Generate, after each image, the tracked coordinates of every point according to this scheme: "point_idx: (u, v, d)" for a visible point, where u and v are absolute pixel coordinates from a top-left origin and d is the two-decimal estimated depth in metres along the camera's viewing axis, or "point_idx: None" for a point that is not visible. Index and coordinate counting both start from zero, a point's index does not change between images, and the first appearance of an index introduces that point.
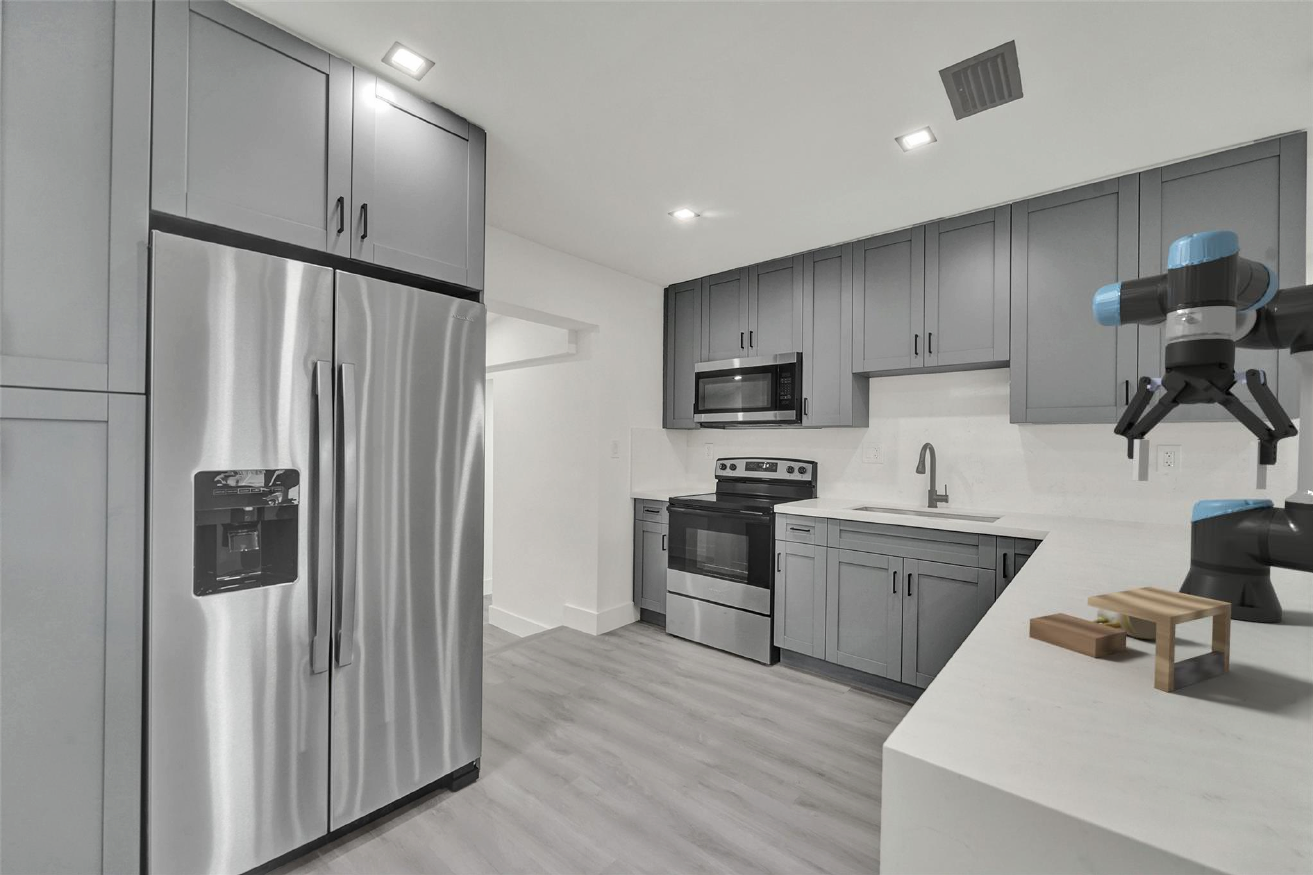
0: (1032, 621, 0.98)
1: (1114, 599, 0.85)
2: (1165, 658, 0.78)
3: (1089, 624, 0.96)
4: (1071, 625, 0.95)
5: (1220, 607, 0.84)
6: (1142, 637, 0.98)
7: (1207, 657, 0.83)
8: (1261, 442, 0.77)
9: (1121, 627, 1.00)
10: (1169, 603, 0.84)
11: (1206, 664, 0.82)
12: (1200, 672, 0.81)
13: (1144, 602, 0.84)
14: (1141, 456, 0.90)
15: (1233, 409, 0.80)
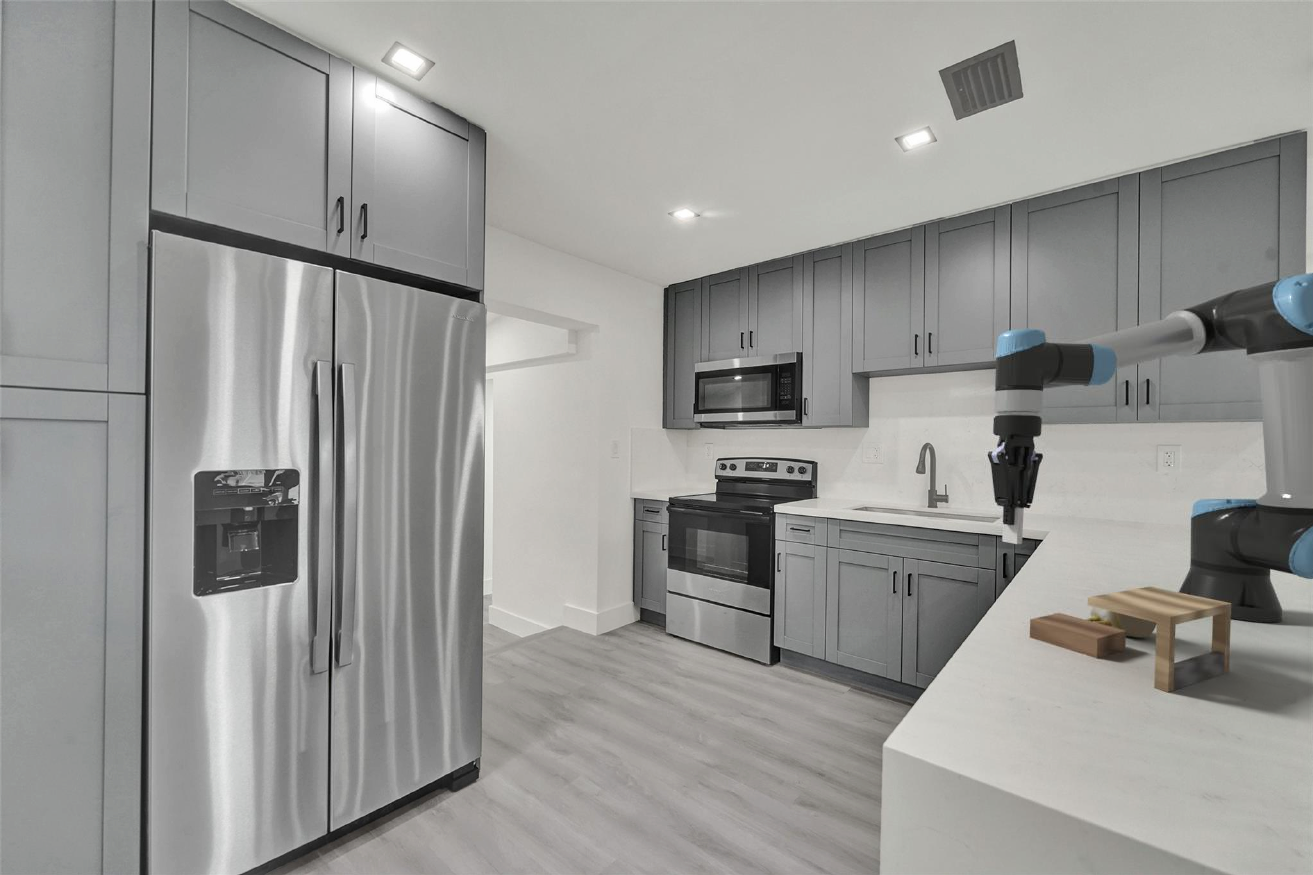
0: (1032, 621, 0.98)
1: (1114, 599, 0.85)
2: (1165, 658, 0.78)
3: (1089, 624, 0.96)
4: (1071, 625, 0.95)
5: (1220, 607, 0.84)
6: (1132, 635, 0.99)
7: (1207, 657, 0.83)
8: None
9: (1112, 625, 1.01)
10: (1169, 603, 0.84)
11: (1206, 664, 0.82)
12: (1200, 672, 0.81)
13: (1144, 602, 0.84)
14: None
15: None
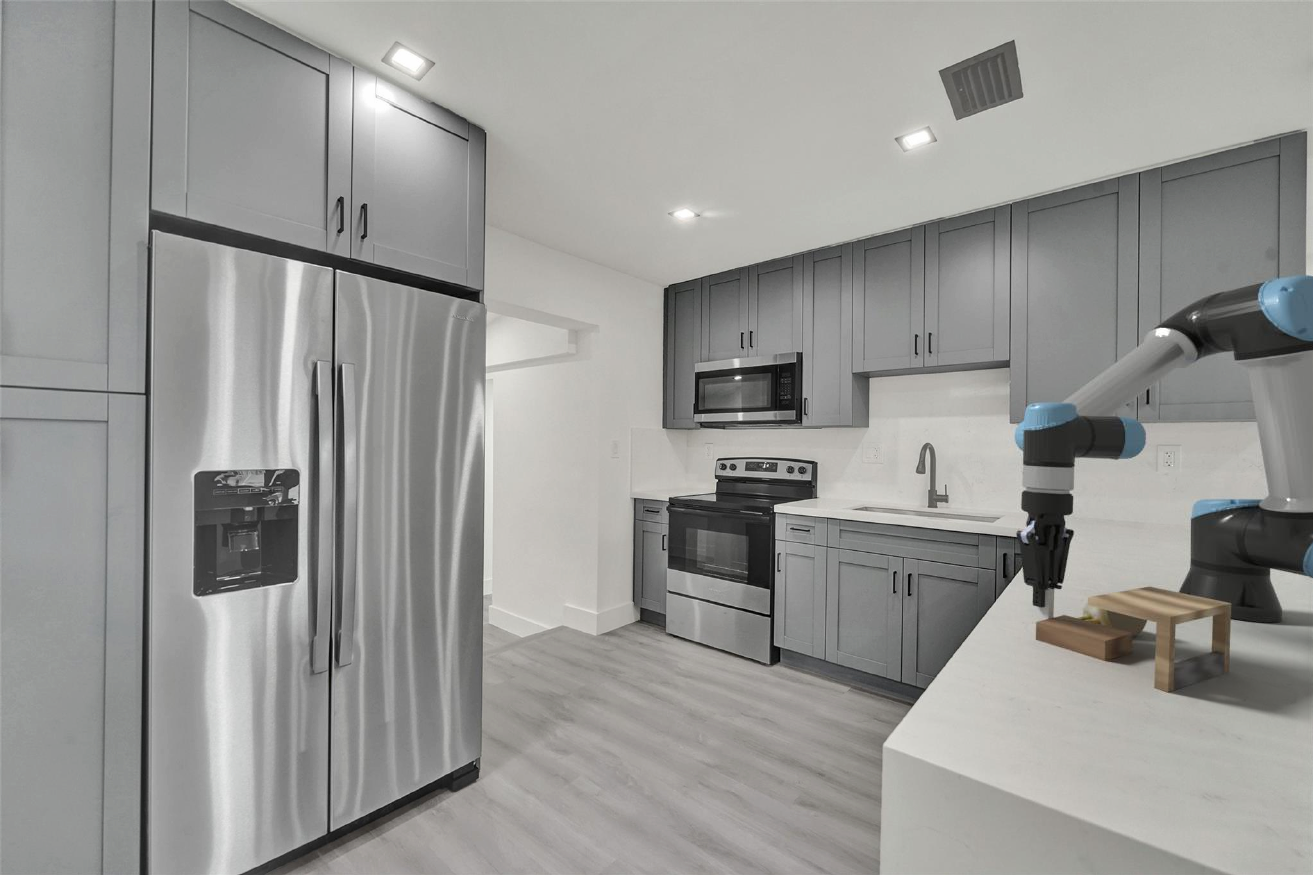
0: (1038, 624, 0.96)
1: (1114, 599, 0.85)
2: (1165, 658, 0.78)
3: (1095, 626, 0.95)
4: (1078, 627, 0.94)
5: (1220, 607, 0.84)
6: None
7: (1207, 657, 0.83)
8: None
9: (1101, 623, 1.02)
10: (1169, 603, 0.84)
11: (1206, 664, 0.82)
12: (1200, 672, 0.81)
13: (1144, 602, 0.84)
14: None
15: None
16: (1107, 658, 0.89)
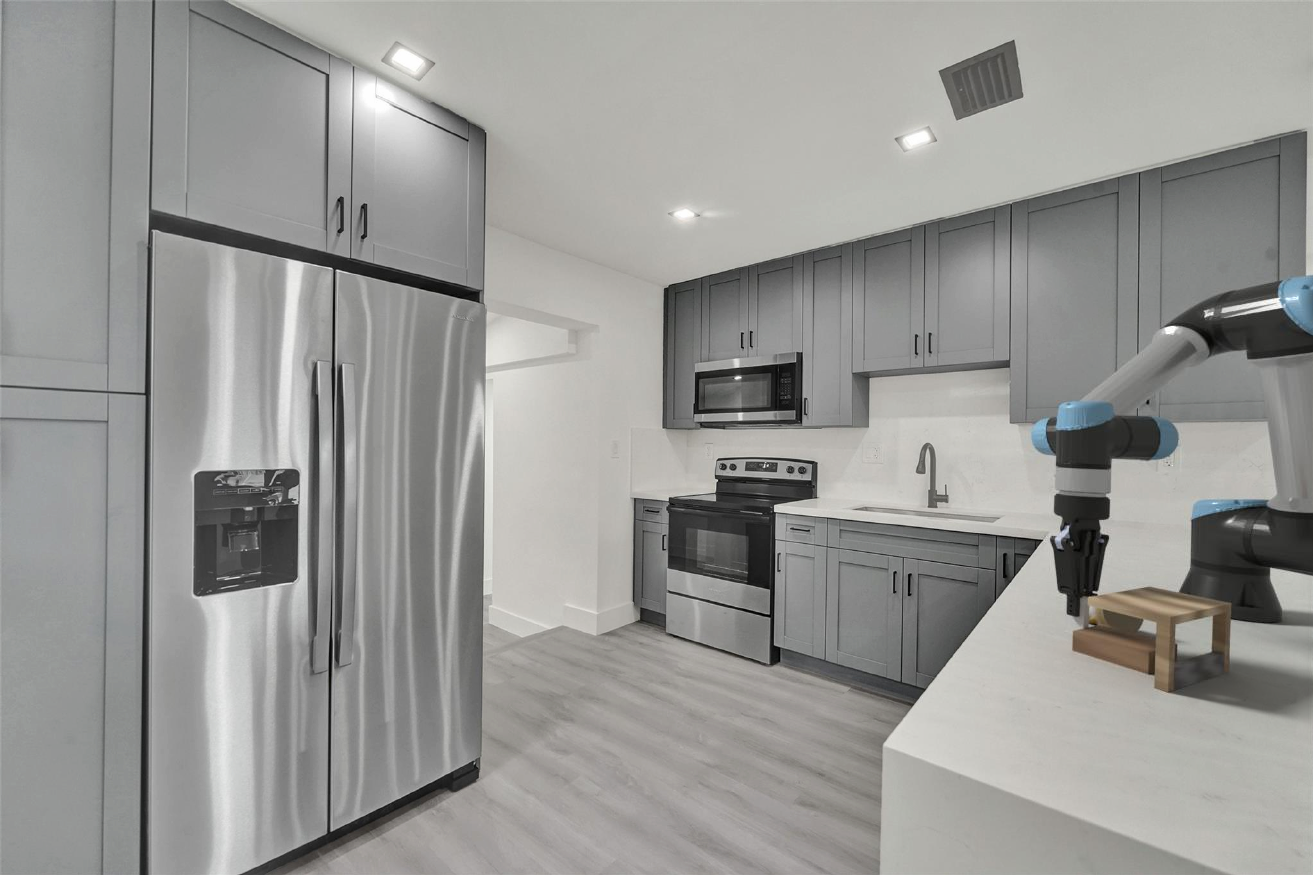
0: (1075, 633, 0.92)
1: (1114, 599, 0.85)
2: (1165, 658, 0.78)
3: (1136, 636, 0.90)
4: (1118, 638, 0.89)
5: (1220, 607, 0.84)
6: None
7: (1207, 657, 0.83)
8: None
9: (1097, 623, 1.02)
10: (1169, 603, 0.84)
11: (1206, 664, 0.82)
12: (1200, 672, 0.81)
13: (1144, 602, 0.84)
14: None
15: None
16: (1151, 671, 0.84)
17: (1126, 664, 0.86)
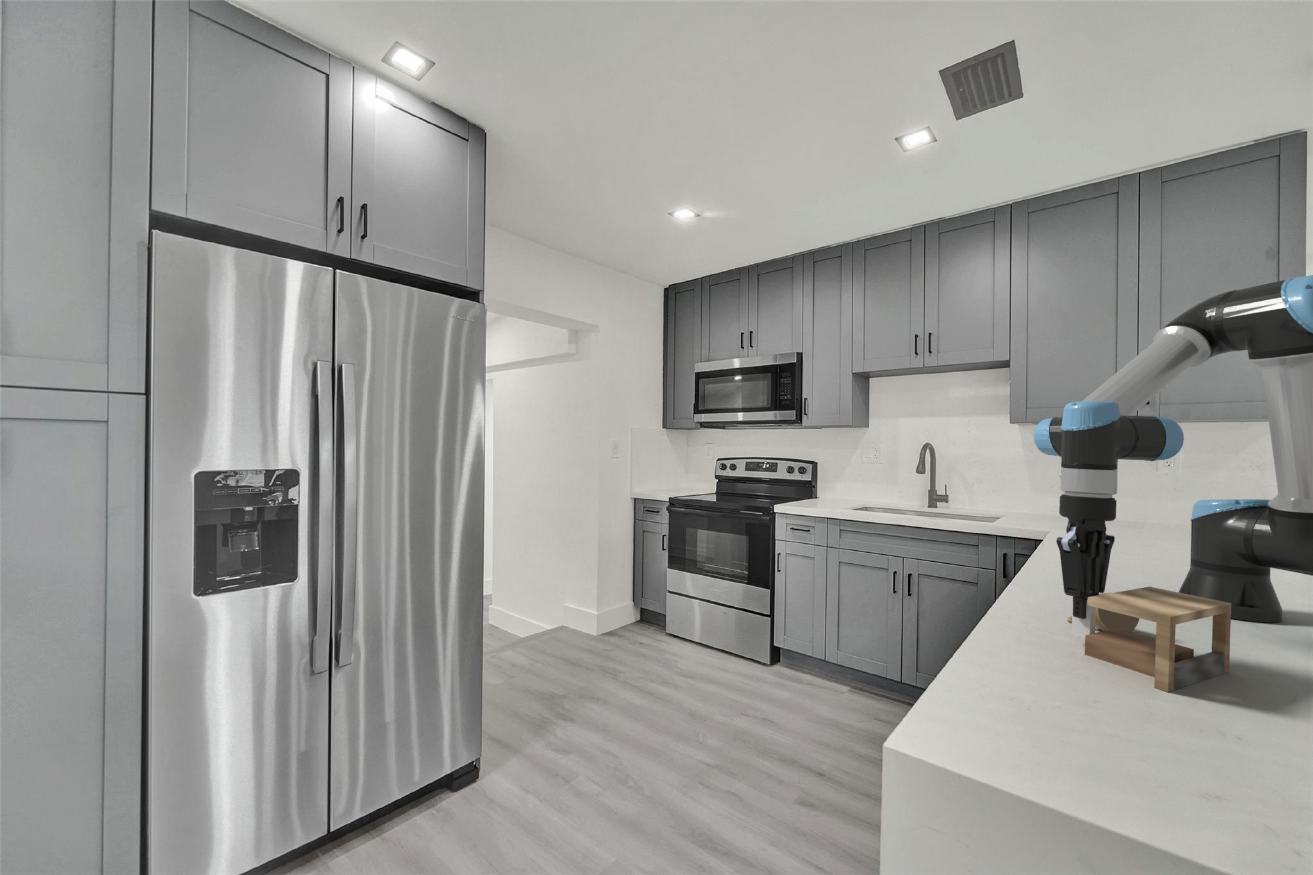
0: (1088, 637, 0.90)
1: (1114, 599, 0.85)
2: (1165, 658, 0.78)
3: (1151, 641, 0.88)
4: (1132, 642, 0.88)
5: (1220, 607, 0.84)
6: None
7: (1207, 657, 0.83)
8: None
9: None
10: (1169, 603, 0.84)
11: (1206, 664, 0.82)
12: (1200, 672, 0.81)
13: (1144, 602, 0.84)
14: None
15: None
16: None
17: (1140, 670, 0.84)
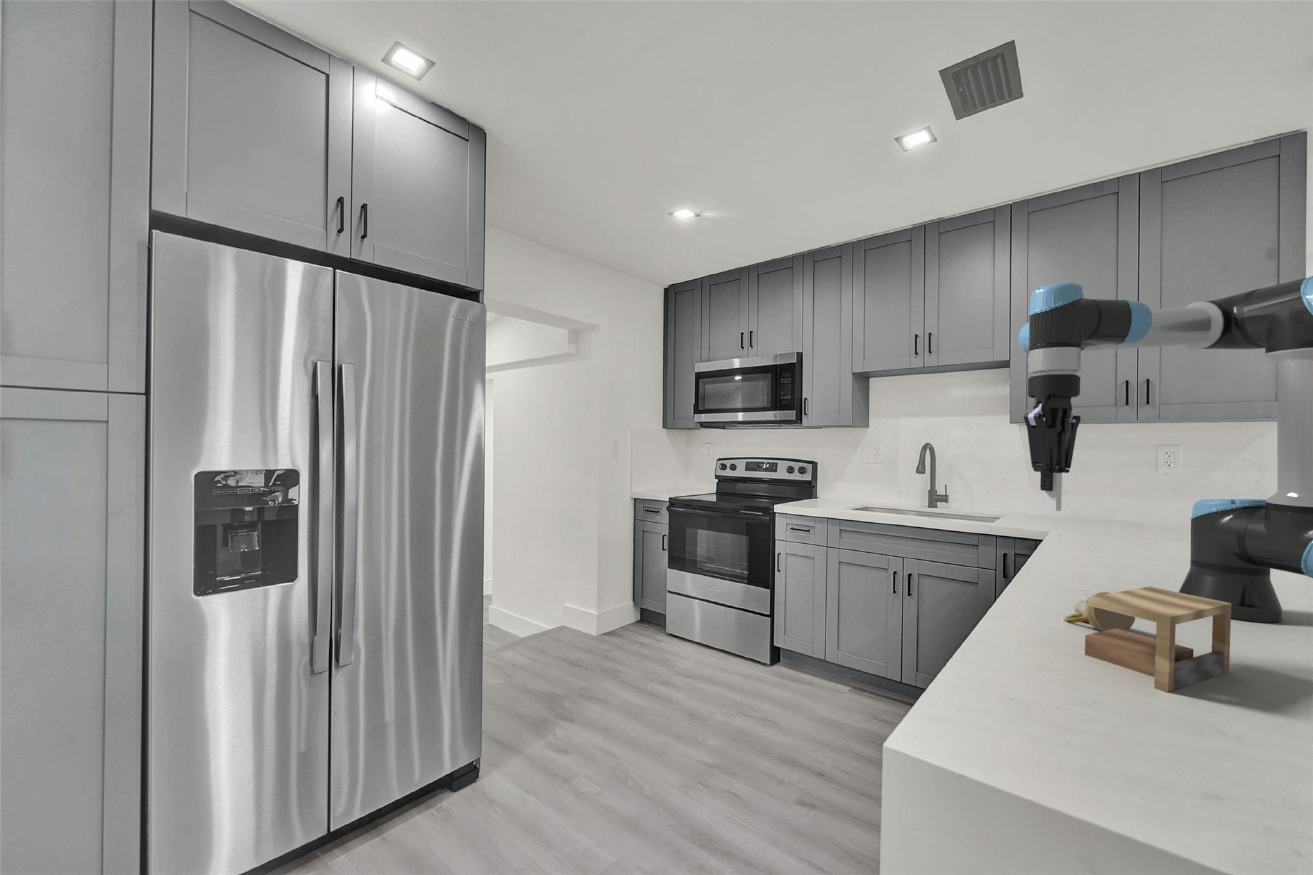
0: (1088, 638, 0.90)
1: (1114, 599, 0.85)
2: (1165, 658, 0.78)
3: (1151, 641, 0.88)
4: (1132, 642, 0.88)
5: (1220, 607, 0.84)
6: None
7: (1207, 657, 0.83)
8: None
9: (1089, 621, 1.03)
10: (1169, 603, 0.84)
11: (1206, 664, 0.82)
12: (1200, 672, 0.81)
13: (1144, 602, 0.84)
14: None
15: None
16: None
17: (1140, 669, 0.84)
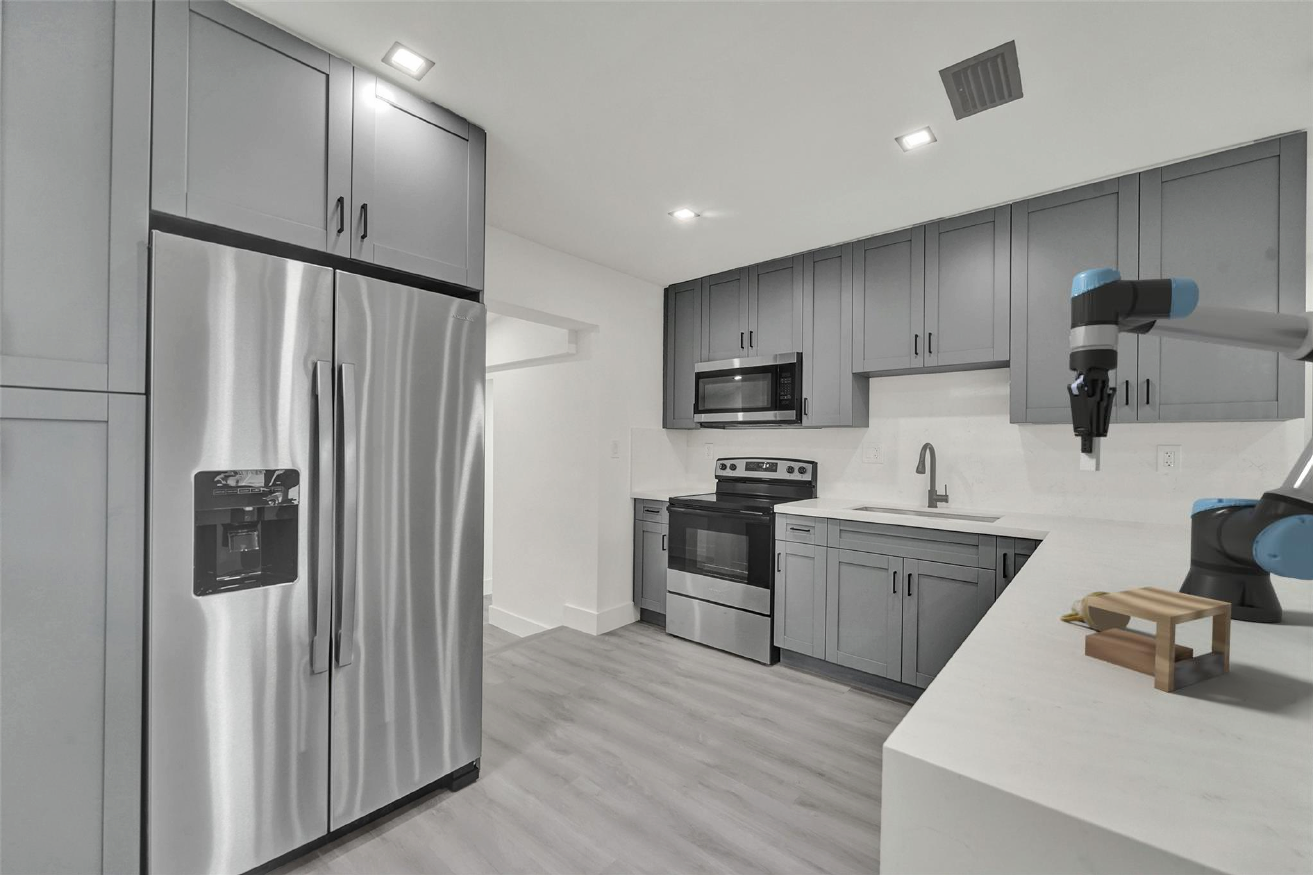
0: (1088, 638, 0.90)
1: (1114, 599, 0.85)
2: (1165, 658, 0.78)
3: (1150, 641, 0.88)
4: (1132, 642, 0.88)
5: (1220, 607, 0.84)
6: (1103, 630, 1.01)
7: (1207, 657, 0.83)
8: None
9: (1084, 620, 1.03)
10: (1169, 603, 0.84)
11: (1206, 664, 0.82)
12: (1200, 672, 0.81)
13: (1144, 602, 0.84)
14: None
15: None
16: None
17: (1141, 670, 0.84)
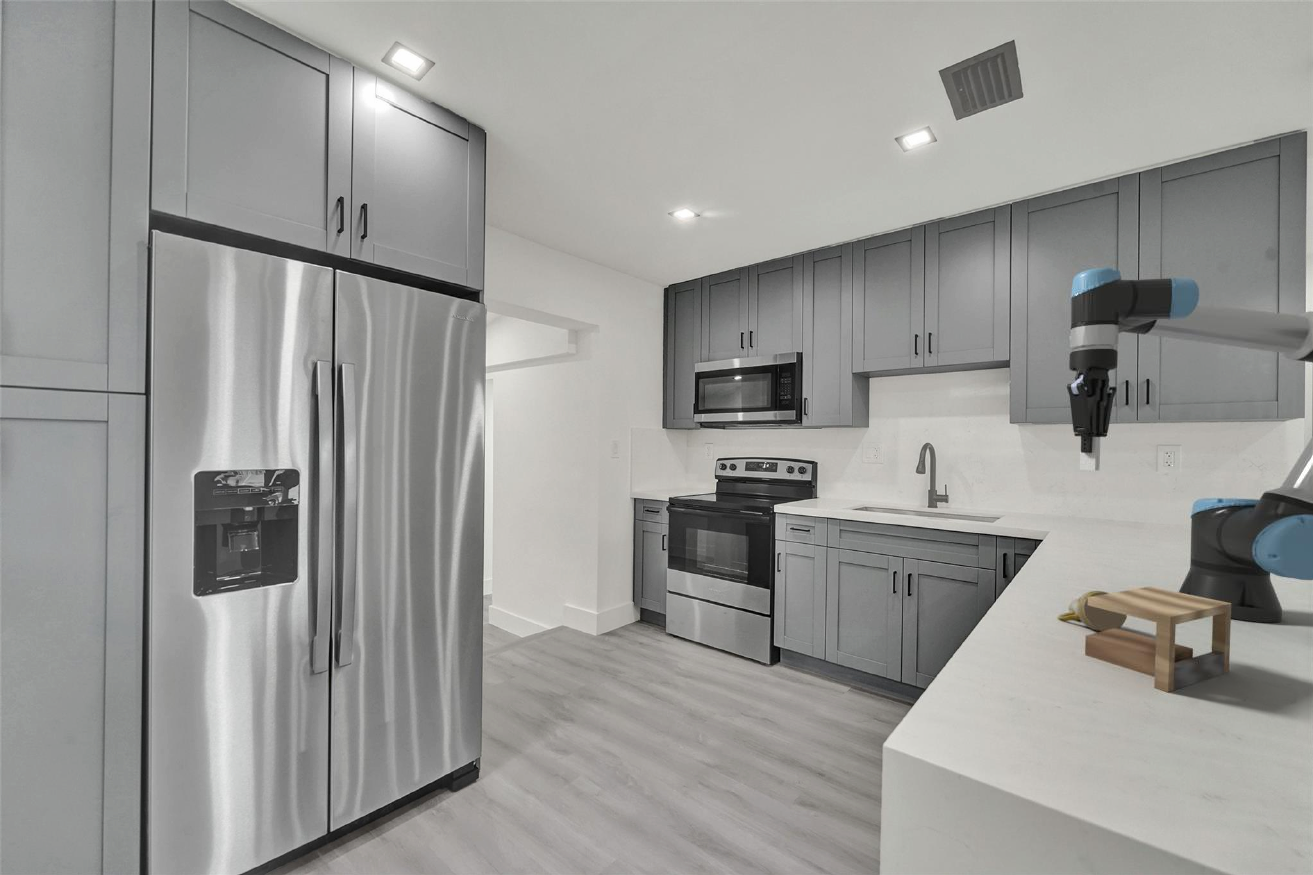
0: (1088, 638, 0.90)
1: (1114, 599, 0.85)
2: (1165, 658, 0.78)
3: (1150, 641, 0.88)
4: (1132, 642, 0.88)
5: (1220, 607, 0.84)
6: (1099, 629, 1.01)
7: (1207, 657, 0.83)
8: None
9: (1080, 619, 1.04)
10: (1169, 603, 0.84)
11: (1206, 664, 0.82)
12: (1200, 672, 0.81)
13: (1144, 602, 0.84)
14: None
15: None
16: None
17: (1141, 670, 0.84)
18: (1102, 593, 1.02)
